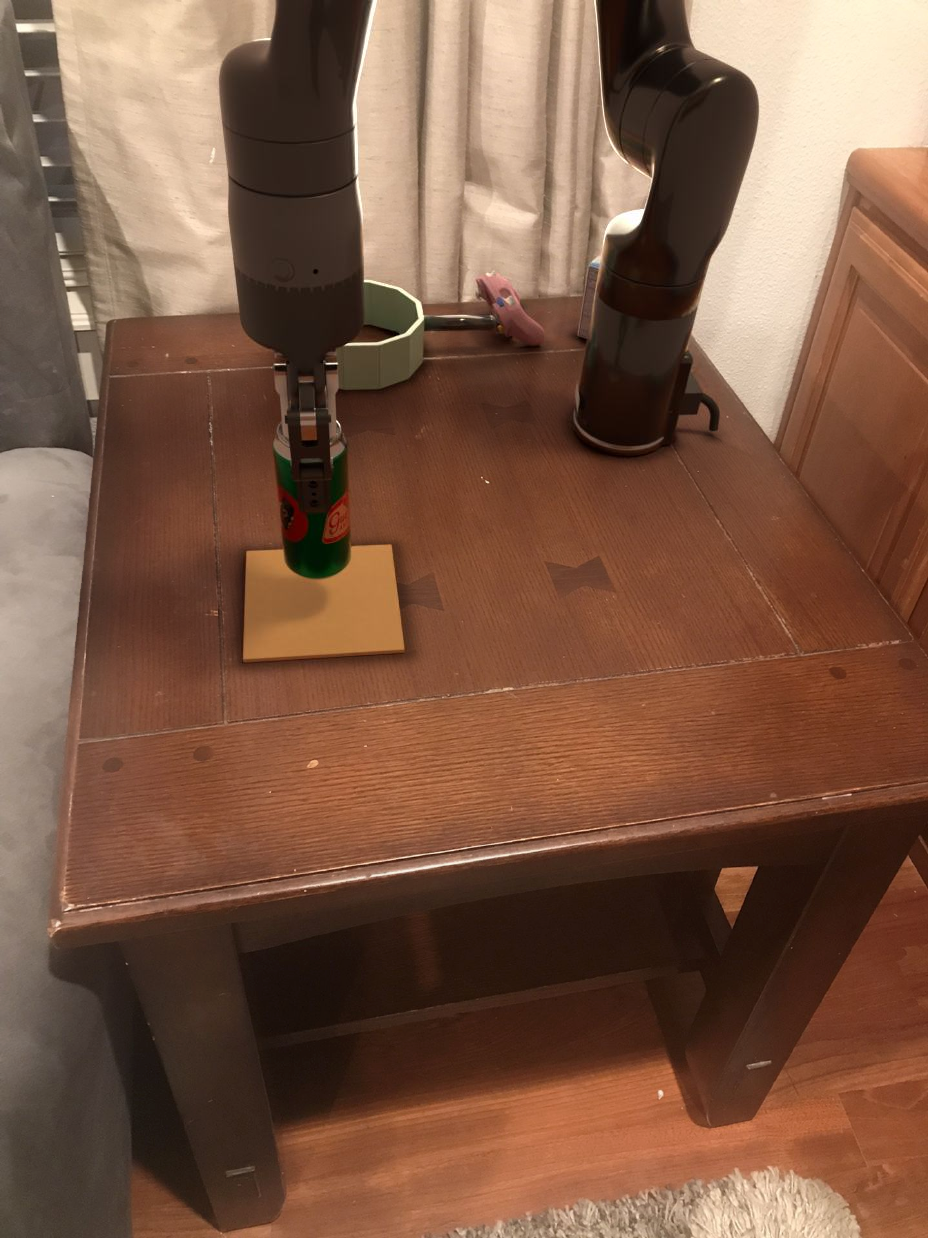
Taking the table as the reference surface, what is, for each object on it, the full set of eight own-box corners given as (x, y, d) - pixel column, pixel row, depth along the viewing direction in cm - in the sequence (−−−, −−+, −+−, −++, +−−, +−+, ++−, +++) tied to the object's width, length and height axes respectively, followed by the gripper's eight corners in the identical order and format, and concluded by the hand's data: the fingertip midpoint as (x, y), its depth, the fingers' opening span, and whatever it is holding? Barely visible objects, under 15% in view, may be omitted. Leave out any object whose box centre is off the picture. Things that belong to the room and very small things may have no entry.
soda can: (340, 589, 71) (334, 457, 62) (275, 576, 71) (260, 444, 62) (359, 545, 74) (356, 415, 65) (297, 533, 75) (285, 402, 66)
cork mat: (391, 547, 80) (391, 544, 80) (404, 652, 72) (404, 649, 72) (246, 554, 79) (246, 550, 79) (243, 662, 71) (242, 659, 70)
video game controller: (485, 319, 111) (463, 270, 106) (519, 299, 111) (499, 249, 106) (513, 363, 105) (491, 314, 100) (550, 343, 104) (529, 292, 99)
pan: (485, 320, 108) (488, 278, 105) (504, 386, 99) (509, 342, 95) (292, 322, 105) (289, 280, 102) (294, 391, 96) (290, 346, 92)
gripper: (371, 312, 51) (374, 550, 63) (356, 200, 60) (361, 424, 73) (227, 314, 50) (258, 555, 62) (236, 199, 59) (261, 427, 72)
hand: (314, 483), depth 67 cm, fingers closed on soda can, 5 cm apart
